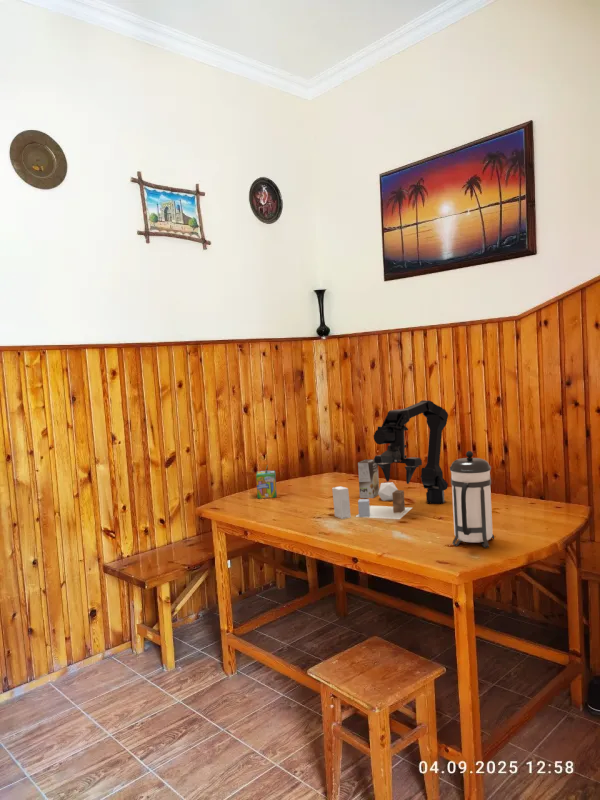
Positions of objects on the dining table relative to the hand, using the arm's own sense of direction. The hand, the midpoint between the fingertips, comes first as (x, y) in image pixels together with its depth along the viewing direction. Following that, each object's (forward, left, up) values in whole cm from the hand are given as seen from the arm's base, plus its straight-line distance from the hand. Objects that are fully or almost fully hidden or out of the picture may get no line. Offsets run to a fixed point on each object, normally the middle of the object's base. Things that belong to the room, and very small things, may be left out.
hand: (397, 482), depth 235 cm
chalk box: (+71, -20, -13) cm, 74 cm away
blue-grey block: (+13, +5, -12) cm, 18 cm away
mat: (+7, -1, -13) cm, 15 cm away
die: (+12, -22, -13) cm, 28 cm away
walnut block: (+1, -3, -12) cm, 13 cm away
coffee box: (+23, -29, -13) cm, 39 cm away
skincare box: (+21, +9, -13) cm, 26 cm away
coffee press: (-33, +29, -13) cm, 46 cm away
